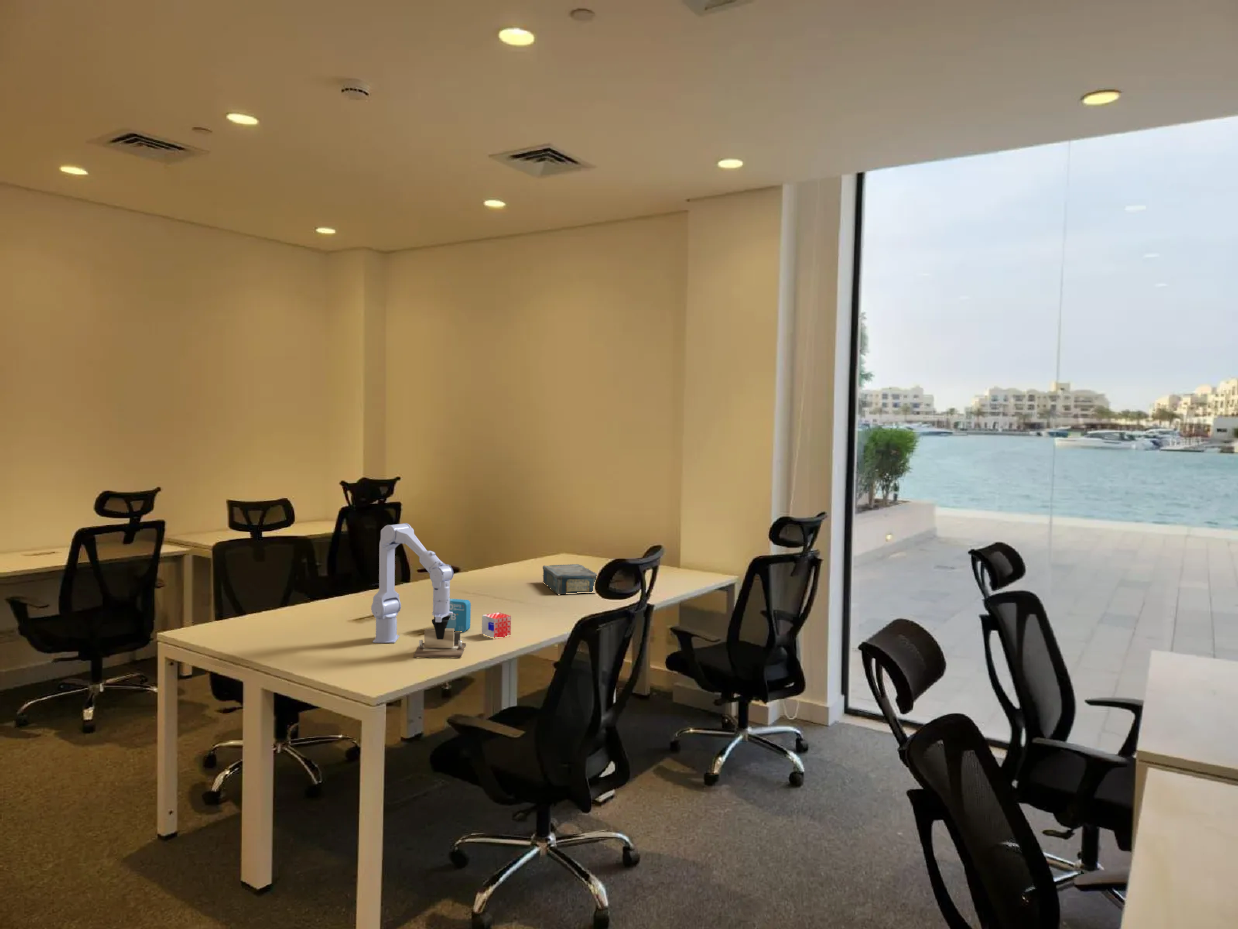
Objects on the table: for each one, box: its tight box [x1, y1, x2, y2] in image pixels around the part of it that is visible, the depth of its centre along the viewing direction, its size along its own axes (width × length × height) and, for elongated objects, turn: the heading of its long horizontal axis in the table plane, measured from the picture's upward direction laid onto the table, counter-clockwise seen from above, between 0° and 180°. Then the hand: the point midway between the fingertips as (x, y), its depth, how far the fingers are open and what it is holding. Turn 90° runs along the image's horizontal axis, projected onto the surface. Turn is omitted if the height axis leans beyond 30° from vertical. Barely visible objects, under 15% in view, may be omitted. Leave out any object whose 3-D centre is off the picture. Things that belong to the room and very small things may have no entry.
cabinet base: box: [413, 632, 467, 658], centre depth 288 cm, size 16×16×5 cm
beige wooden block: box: [423, 627, 454, 647], centre depth 288 cm, size 3×10×6 cm, turn 95°
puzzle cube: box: [481, 611, 512, 638], centre depth 312 cm, size 8×8×8 cm
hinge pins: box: [418, 639, 463, 649], centre depth 288 cm, size 1×15×3 cm, turn 95°
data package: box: [446, 598, 472, 633], centre depth 319 cm, size 12×4×12 cm, turn 78°
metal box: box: [542, 563, 598, 595], centre depth 409 cm, size 21×32×10 cm, turn 18°
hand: (440, 638), depth 288 cm, fingers closed on beige wooden block, 3 cm apart
